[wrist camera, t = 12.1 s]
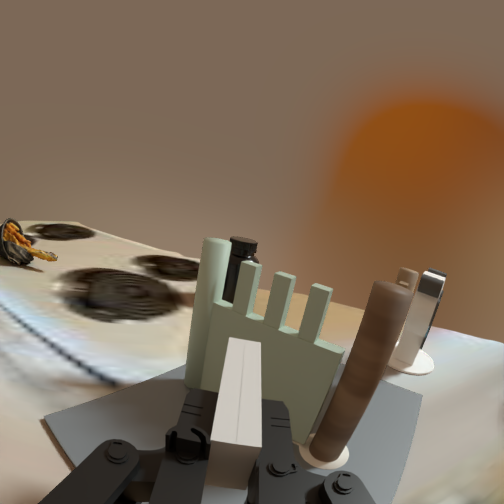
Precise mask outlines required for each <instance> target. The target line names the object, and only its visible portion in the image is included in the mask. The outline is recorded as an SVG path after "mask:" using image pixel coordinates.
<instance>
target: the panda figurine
mask: <svg viewBox="0 0 504 504" xmlns="http://www.w3.org/2000/svg"><path fill="white" fill-rule="evenodd" d="M446 275H447V274H446V273H444V272H441V271H438V270H435V269H432V268H429V270H428V272H427V271H425V272H424V274H423V275H422V277H421V280H420V283H419V285H418V288H417V291H416V293H415V296H414V299H413V301H412V304H411V307H410V310H409V313H408V316H407V319H406V322H405V326H404V330H403V333H402V336H401V338H400V341H397V343H396V345H395V348H394V350H393V352H392V355H391V357H390V360H389V362H388V364H387V365H388V366H390V367H392V368H394V369H396V370H398V371H400V372H403V373H407V374H411V375H426V374H429V373H431V372H432V370H433V369H434V362H433V360H432V359H431V358H430V356H428V355H427V354H426V353H425V352H423V351H422V350H420V349H422V347H423V345H424V342H425V340H426V338H427V335H428V333H429V330H430V328H431V325H432V322H433V319H434V317H435V314H436V311H437V309H438V306H439V303H440V300H441V297H442V294H443V290H442V288H443V285H444V282H445V278H446ZM428 327H429V328H428Z"/></svg>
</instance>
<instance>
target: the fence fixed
mask: <svg viewBox="0 0 504 504" xmlns="http://www.w3.org/2000/svg"><path fill="white" fill-rule="evenodd" d="M418 275H419V273H418V272H416V271H413V270H411V269H407V268H400V270H399V273H398V277H397V280H396V283H395V284H393V283H390V282H385V281H374V284H373V287H372V290H371V293H370V297H369V300H368V303H367V306H366V309H365V312H364V315H363V318H362V321H361V324H360V327H359V330H358V333H357V336H356V339H355V341H354V344H353V347H352V349H351V352H350V355H349V357H348V360H347V363H346V365H345V368H344V370H343V373H342V375H341V378H340V380H339V383H338V385H337V387H336V390H335V392H334V394H333V397H332V399H331V401H330V404H329V406H328V408H327V410H326V413H325V415H324V417H323V419H322V421H321V423H320V425H319V428H318V430H317V432H316V434H315V436H314V438H313V440H312V442H311V444H310V446H309V451H310V454H311V455H312V456H313V457H314V458H315V459H317V460H319V461H322V462H333V461H335V460H337V459H338V458H339V456H340V455H341V453H342V451H343V450H344V448H345V446H346V445H347V443H348V441H349V440H350V438H351V436H352V434H353V433H354V431H355V429H356V427H357V425H358V424H359V422H360V420H361V418H362V416H363V414H364V412H365V410H366V408H367V407H368V405H369V403H370V401H371V399H372V397H373V395H374V392H375V390H376V388H377V386H378V384H379V382H380V380H381V378H382V375H383V373H384V371H385V369H386V366H387V364H388V362H389V360H390V357H391V355H392V352H393V350H394V348H395V345H396V343H397V340H398V338H399V335H400V332H401V330H402V327H403V324H404V322H405V319H406V316H407V313H408V311H409V308H410V305H411V302H412V299H413V296H414V293H413V291H414V288H415V285H416V282H417V278H418Z"/></svg>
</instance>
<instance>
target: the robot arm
mask: <svg viewBox="0 0 504 504" xmlns="http://www.w3.org/2000/svg"><path fill="white" fill-rule="evenodd" d="M290 428H291V425H290V417H289V410H288V408H287V407H286V405H285V404H284V402H283V401H276V400H268V399H261V342H255V341H249V340H243V339H237V338H232V337H229V342H228V347H227V352H226V358H225V363H224V368H223V374H222V379H221V384H220V390H219V393H218V392H213V391H208V390H203V389H198V388H193V389H192V390H191V391H190V392H189V393H188V394H187V395H186V398H185V401H184V404H183V407H182V410H181V413H180V416H179V419H178V422H177V425H175V426H174V427H172V428H170V429H169V430H168V431H167V433H166V434H165V447H163V448H161V449H157V450H137V449H136V448H135V446H133V445H132V444H131V443H129V442H127V441H124V440H122V439H110V440H106V441H104V442H103V443H101V444H100V445H99V446H98V447H97V448H96V449H95V450H94V451H93V452H92V453H91V454H90V455H89V456H88V457H86V458H85V459H84V460H83V461H82V462H81V463H80V464H79V465H78V466H77V467H76V468H75V469H74V470H73V471H72V472H71V473H70V474H69V475H68V476H67V477H66V478H65V479H64V480H63V481H62V482H60V483H59V484H58V485H57V486H56V487H55V488H54V489H53V490H52V491H51V492H50V493H49V494H48V495H47V496H46V497H45V498H43V499H42V500H41V501H40V502H39V503H38V504H141V503H142V502H149V504H201V501H202V495H203V489H204V484H205V485H211V486H217V487H223V488H231V489H239V490H246V489H247V486H248V494H247V498H246V500H245V502H244V504H376V503H375V501H374V500H373V498H372V497H371V495H370V493H369V492H368V490H367V489H366V487H365V485H364V484H363V482H362V480H361V479H360V478H359V477H358V476H357V475H355V474H353V473H351V472H348V471H344V470H343V471H335V472H332V473H330V474H329V475H328V476H323V475H319V474H315V473H312V472H309V471H307V470H305V469H303V468H302V467H301V466H300V465H299V463H298V462H297V461H296V460H295V457H294V451H293V442H292V434H291V429H290Z"/></svg>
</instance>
